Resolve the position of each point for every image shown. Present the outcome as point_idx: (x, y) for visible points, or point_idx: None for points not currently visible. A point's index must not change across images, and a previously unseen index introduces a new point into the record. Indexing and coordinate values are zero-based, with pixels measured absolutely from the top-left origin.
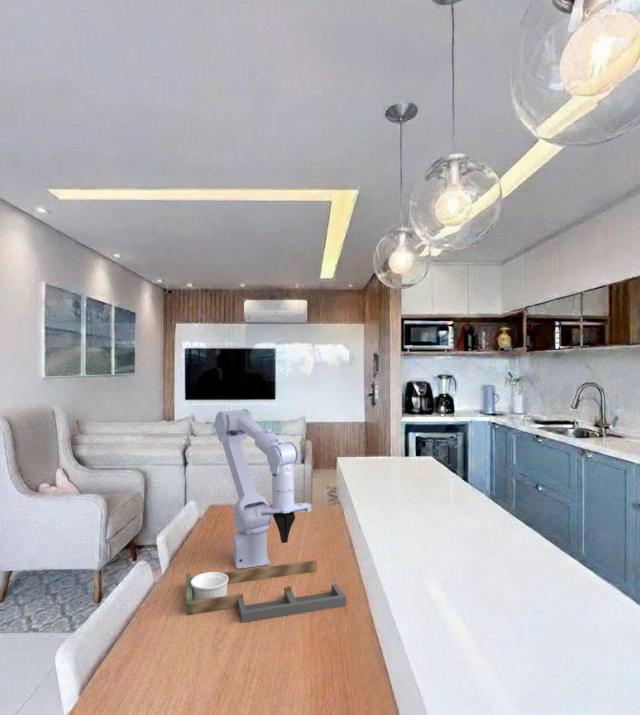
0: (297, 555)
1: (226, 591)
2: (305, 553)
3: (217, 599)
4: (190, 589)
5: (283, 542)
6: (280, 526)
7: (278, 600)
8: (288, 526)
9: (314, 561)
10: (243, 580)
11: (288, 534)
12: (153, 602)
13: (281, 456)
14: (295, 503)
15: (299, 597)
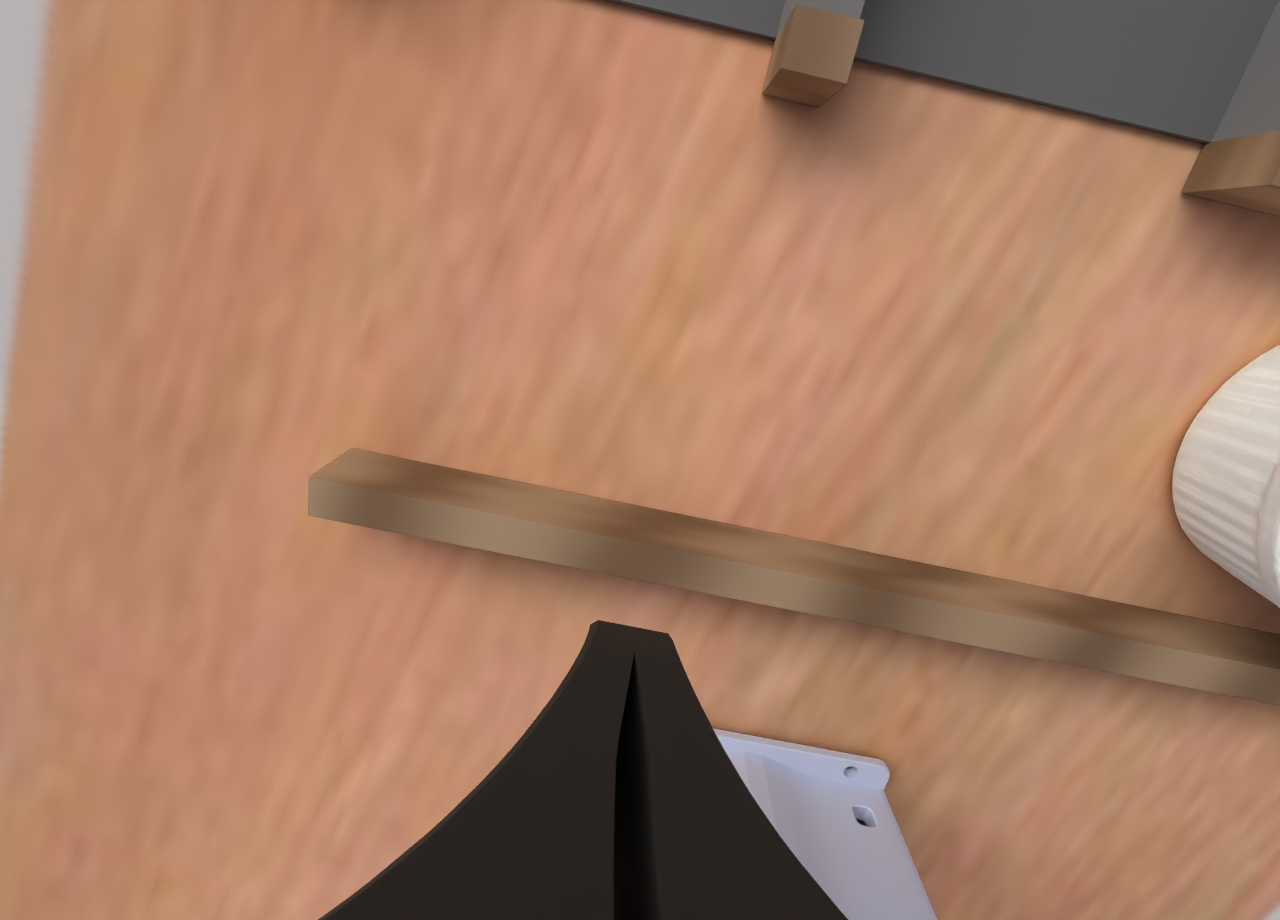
0: (397, 760)
1: (1244, 400)
2: (329, 762)
3: None
4: None
5: (655, 635)
6: (775, 874)
7: (903, 58)
8: (544, 815)
9: (325, 496)
10: (952, 572)
11: (567, 683)
12: None
13: None
14: None
15: (705, 5)
